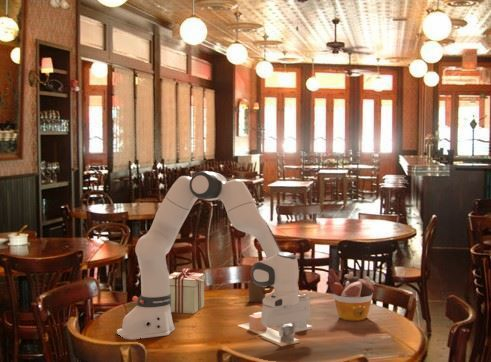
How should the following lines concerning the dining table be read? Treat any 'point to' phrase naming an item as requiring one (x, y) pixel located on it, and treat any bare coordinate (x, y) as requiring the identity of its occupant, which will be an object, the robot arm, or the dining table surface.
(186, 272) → the gift box
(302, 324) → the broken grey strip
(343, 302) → the bucket of meat
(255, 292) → the mug
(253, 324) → the terracotta block
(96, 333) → the dining table surface
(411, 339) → the dining table surface
